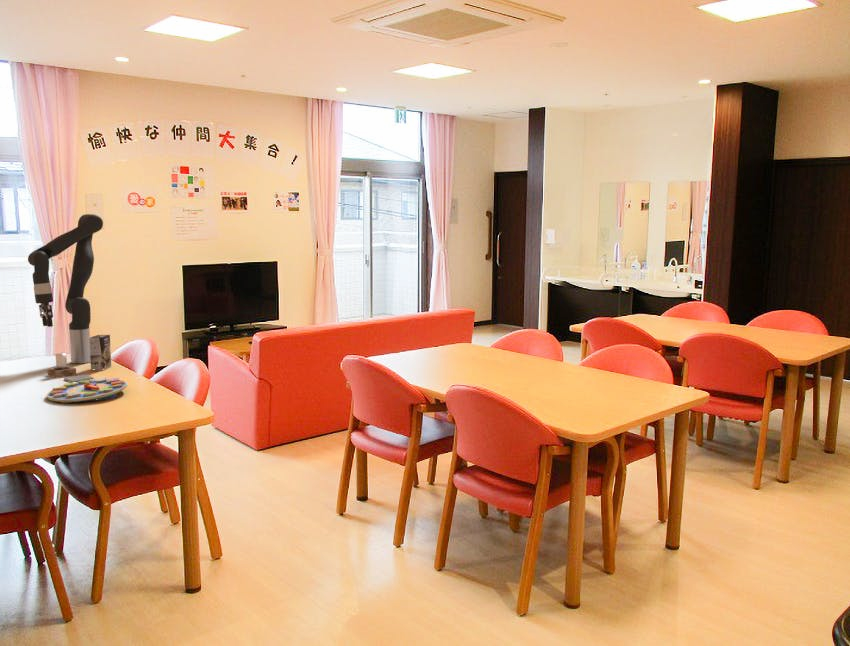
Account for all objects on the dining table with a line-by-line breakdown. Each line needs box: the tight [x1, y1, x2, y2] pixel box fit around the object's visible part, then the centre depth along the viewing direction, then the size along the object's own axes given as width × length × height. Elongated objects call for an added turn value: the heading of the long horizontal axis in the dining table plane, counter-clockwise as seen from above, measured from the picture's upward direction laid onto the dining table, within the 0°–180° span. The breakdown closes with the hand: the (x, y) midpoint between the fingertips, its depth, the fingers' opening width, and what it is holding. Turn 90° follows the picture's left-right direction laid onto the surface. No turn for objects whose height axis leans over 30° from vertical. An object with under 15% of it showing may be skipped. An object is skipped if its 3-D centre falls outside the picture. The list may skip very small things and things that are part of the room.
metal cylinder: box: [54, 352, 68, 370], centre depth 337 cm, size 4×4×10 cm
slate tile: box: [63, 374, 95, 383], centre depth 328 cm, size 9×9×1 cm
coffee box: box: [89, 334, 112, 371], centre depth 351 cm, size 9×6×16 cm
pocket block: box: [46, 365, 77, 378], centre depth 338 cm, size 9×9×3 cm
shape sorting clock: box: [46, 377, 128, 404], centre depth 301 cm, size 31×30×6 cm
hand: (48, 326), depth 349 cm, fingers open, 8 cm apart
